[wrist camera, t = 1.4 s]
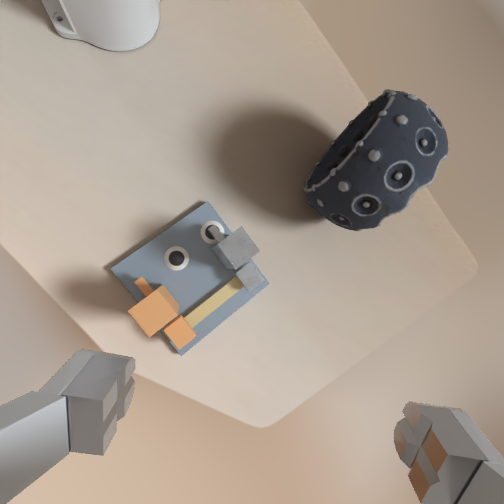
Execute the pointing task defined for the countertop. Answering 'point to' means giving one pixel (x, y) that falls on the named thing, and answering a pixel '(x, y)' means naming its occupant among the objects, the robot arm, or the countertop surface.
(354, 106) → the countertop surface
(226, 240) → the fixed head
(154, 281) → the board
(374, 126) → the dark rounded piece
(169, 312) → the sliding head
